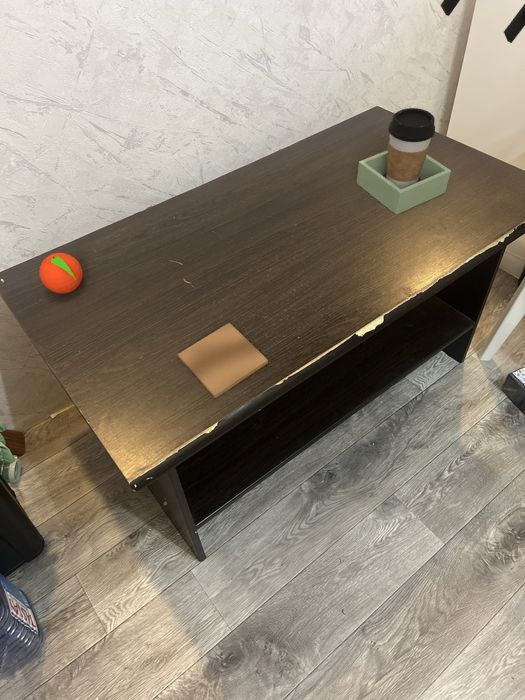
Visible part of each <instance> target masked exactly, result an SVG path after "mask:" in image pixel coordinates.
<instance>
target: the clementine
mask: <svg viewBox="0 0 525 700" xmlns="http://www.w3.org/2000/svg"><path fill="white" fill-rule="evenodd" d="M83 272H84V271H83V269H82V265H81V263H80V262H79V261H78V260H77V259H76V257H74V256H72V255H71V254H69V253H65V252H55V253H51V254H50V255H48V256H47V257H45V258H44V259H43V260H42V262H41V264H40V266H39V278H40V280H41V282H42V285H44V287H45V288H47V289H48V290H49V291H51V292H53V293H57V294H68V293H72V292H73V291H75V290H76V289H78V287H79V286H80V285H81V283H82V280H83V275H84V274H83Z"/></svg>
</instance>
